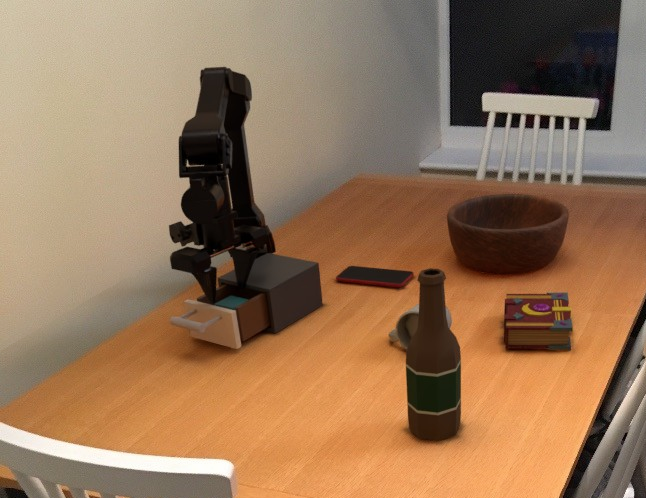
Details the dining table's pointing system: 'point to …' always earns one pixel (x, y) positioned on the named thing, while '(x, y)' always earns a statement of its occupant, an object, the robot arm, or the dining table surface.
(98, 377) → the dining table surface
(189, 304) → the drawer
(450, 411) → the beer bottle
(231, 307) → the block
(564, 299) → the decorative book
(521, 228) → the wooden bowl
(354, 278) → the smartphone
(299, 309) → the cabinet
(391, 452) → the dining table surface
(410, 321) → the ceramic mug
